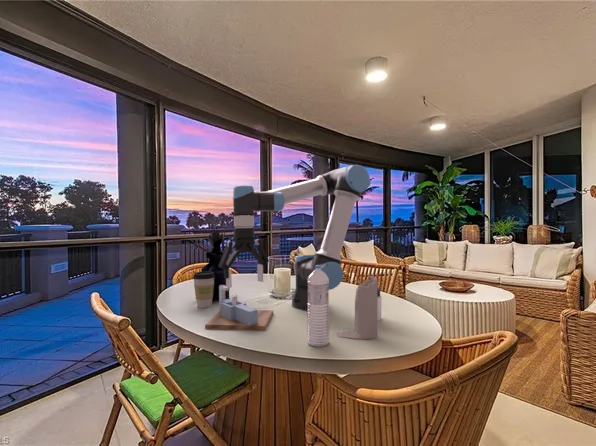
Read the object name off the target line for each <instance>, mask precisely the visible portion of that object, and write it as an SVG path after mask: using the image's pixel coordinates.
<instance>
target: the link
mask: <svg viewBox="0 0 596 446" xmlns="http://www.w3.org/2000/svg"><path fill="white" fill-rule="evenodd" d="M258 310H259V309H256V308H253V307H251V306H248V305H247V303H246V302H243V301H241V300H238V299H237V305H233V306H232V299H230V298H229V299H225V300H221V316H223V317H225V318H227V319H229V320H233V319H235V320H238V321H240V322H242V323H244V324H247V325H249V326H250V325H254V324H257V323H258Z"/></svg>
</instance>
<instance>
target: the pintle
mask: <svg viewBox="0 0 596 446" xmlns="http://www.w3.org/2000/svg"><path fill="white" fill-rule="evenodd" d="M237 300H238V295H237V294H233V295H231V301H232V306H233V305H237Z"/></svg>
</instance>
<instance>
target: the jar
mask: <svg viewBox="0 0 596 446" xmlns="http://www.w3.org/2000/svg"><path fill="white" fill-rule="evenodd" d="M377 301H378V308H377V322H379V321H382V296H381V288H379V287H377Z"/></svg>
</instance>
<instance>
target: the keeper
mask: <svg viewBox="0 0 596 446" xmlns="http://www.w3.org/2000/svg"><path fill="white" fill-rule="evenodd" d="M228 290H229V291H231V288H229V287H226V286H225V285H220V286H219V301H218V302H219V303H218V304H219V309H218V310H219V311H221V300H225V291H228ZM219 311H218V312H219Z"/></svg>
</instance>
